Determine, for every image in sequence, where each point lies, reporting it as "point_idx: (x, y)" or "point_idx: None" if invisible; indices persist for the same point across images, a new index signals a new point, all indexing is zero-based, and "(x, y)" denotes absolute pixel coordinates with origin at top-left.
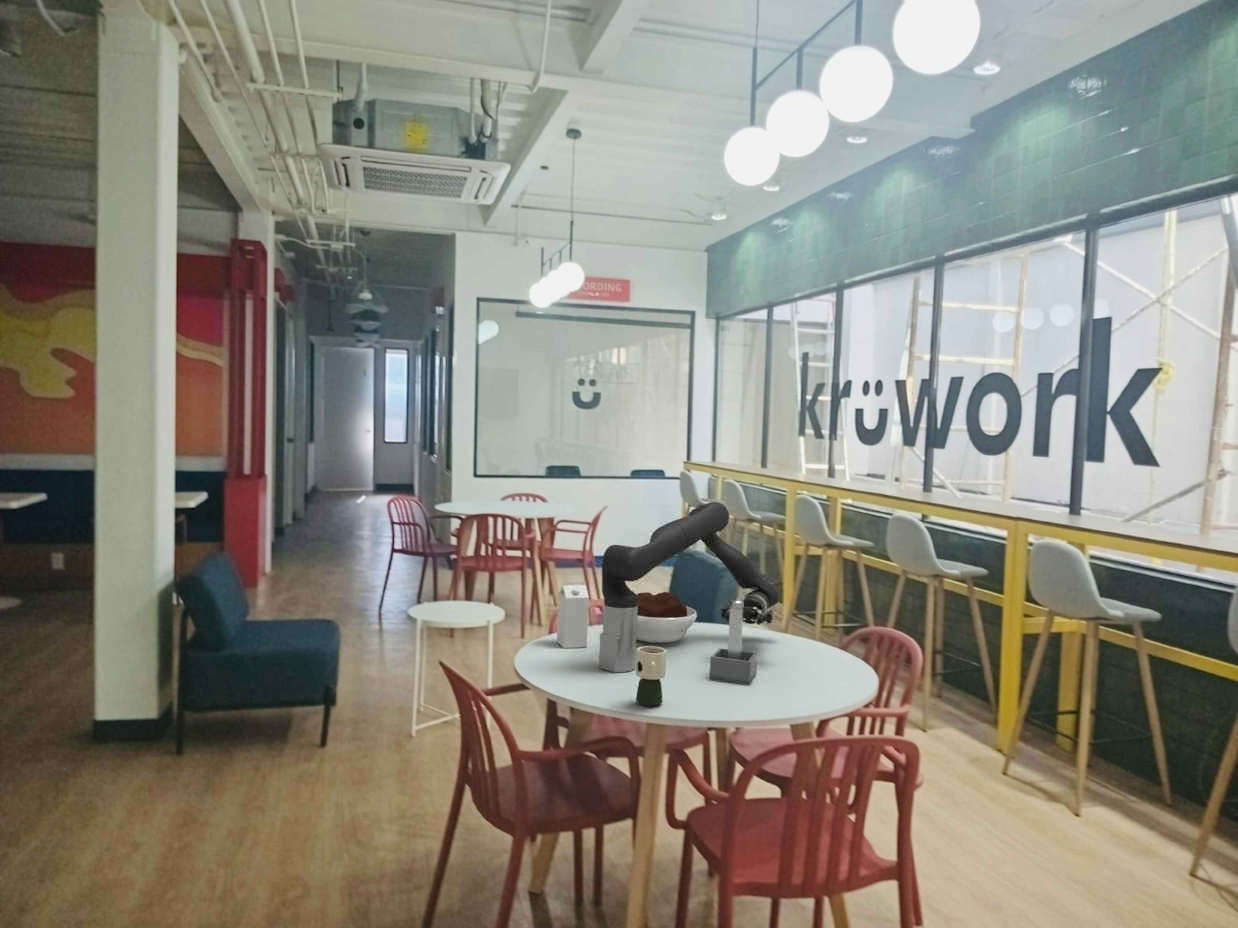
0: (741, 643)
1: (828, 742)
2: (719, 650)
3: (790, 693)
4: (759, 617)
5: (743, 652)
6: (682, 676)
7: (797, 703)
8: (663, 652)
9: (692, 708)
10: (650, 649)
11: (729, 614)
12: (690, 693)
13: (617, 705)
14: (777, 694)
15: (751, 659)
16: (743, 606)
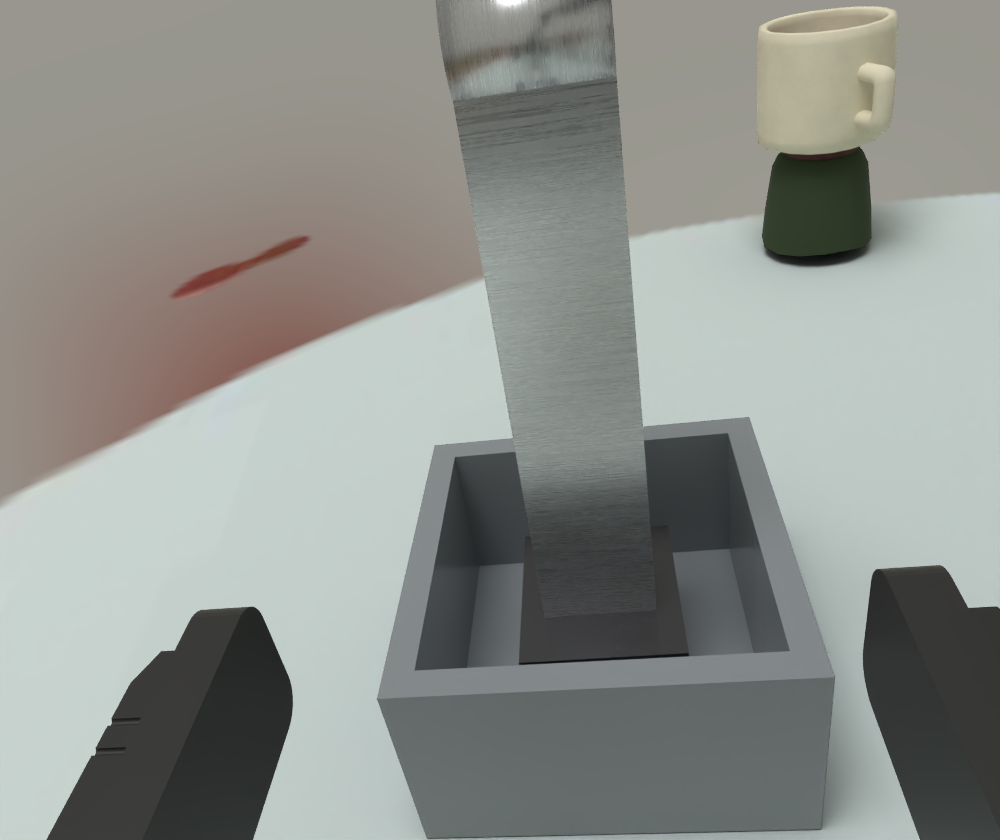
0: (520, 478)
1: (218, 276)
2: (776, 593)
3: (224, 548)
4: (207, 612)
5: (529, 669)
6: (949, 529)
7: (225, 451)
8: (761, 27)
9: (649, 276)
10: (861, 40)
11: (884, 602)
12: (731, 359)
13: (899, 210)
14: (303, 507)
15: (432, 495)
16: (447, 74)
